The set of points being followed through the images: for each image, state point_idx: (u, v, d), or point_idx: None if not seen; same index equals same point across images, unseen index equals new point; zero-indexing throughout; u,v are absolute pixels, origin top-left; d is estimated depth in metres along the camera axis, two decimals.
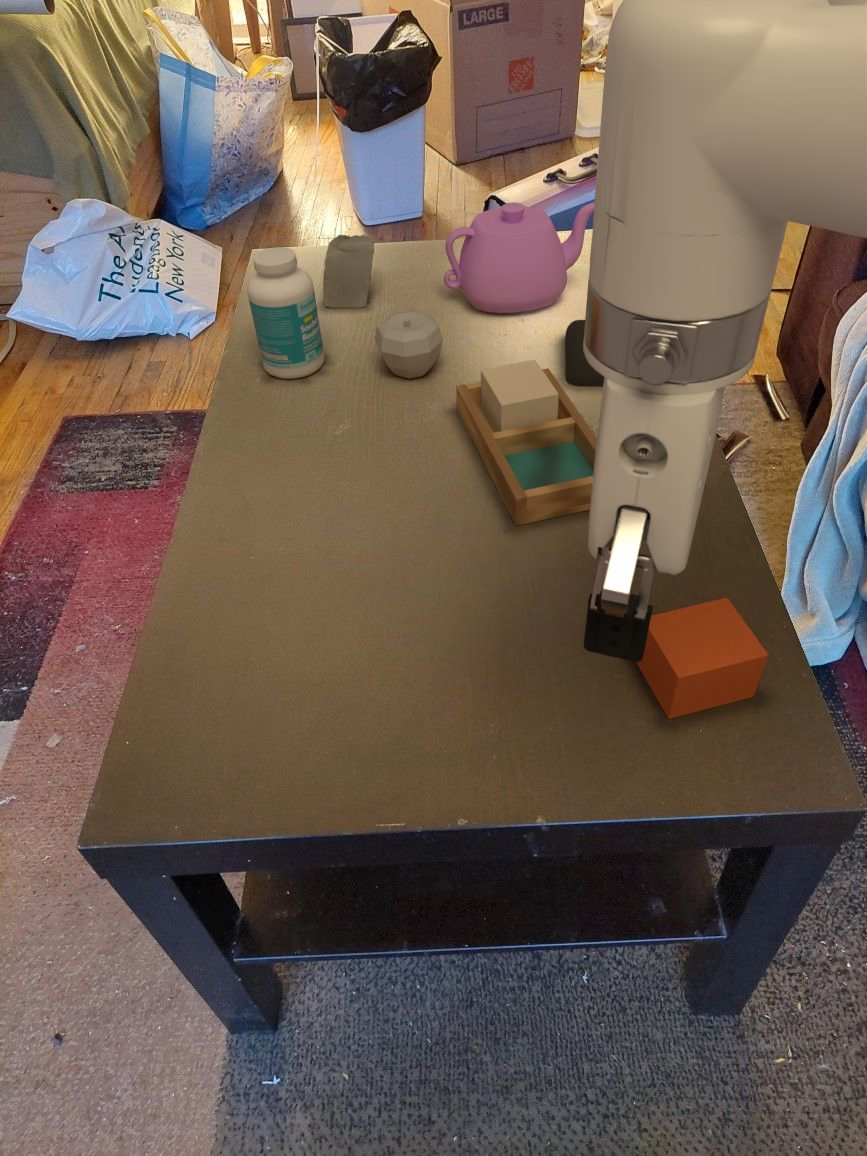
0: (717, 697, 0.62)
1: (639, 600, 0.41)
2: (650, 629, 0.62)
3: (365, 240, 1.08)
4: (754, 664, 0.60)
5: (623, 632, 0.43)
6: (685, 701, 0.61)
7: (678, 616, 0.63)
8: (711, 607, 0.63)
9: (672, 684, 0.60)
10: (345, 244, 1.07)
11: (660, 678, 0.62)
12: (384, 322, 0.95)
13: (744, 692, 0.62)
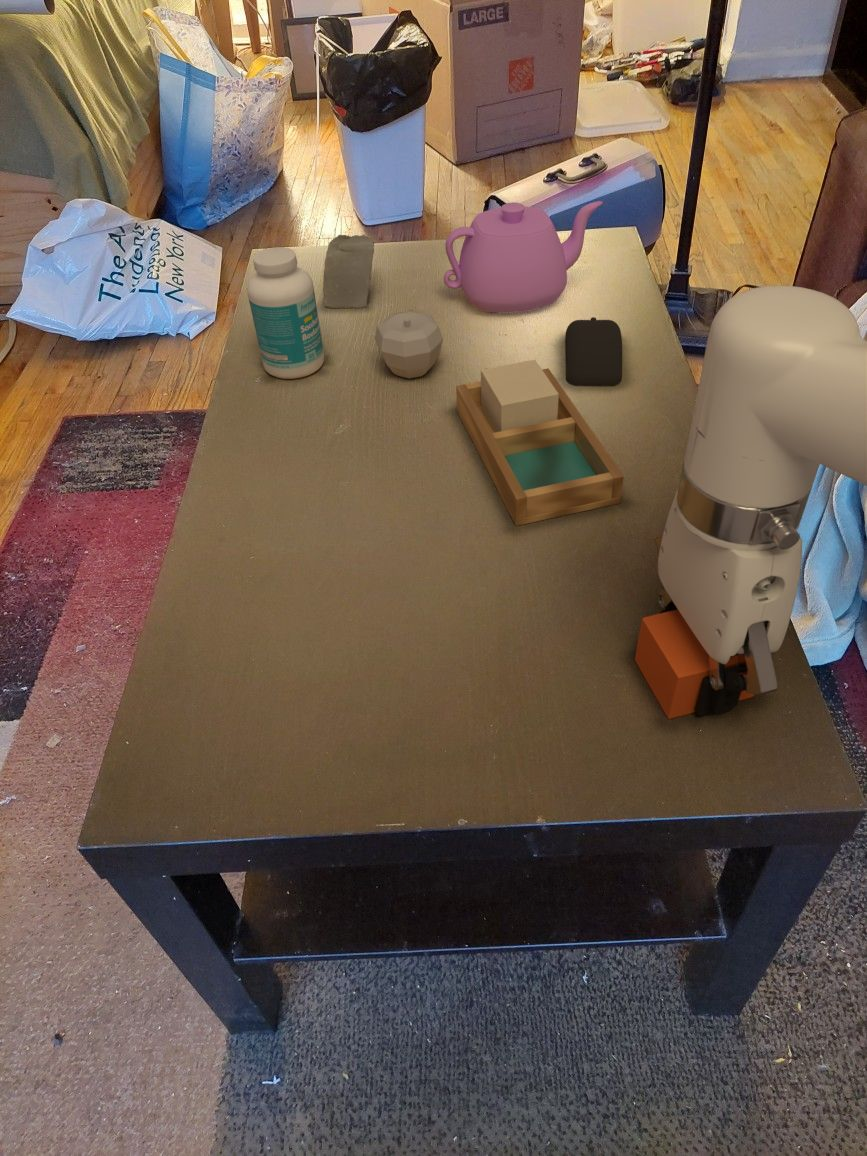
0: None
1: None
2: (650, 629, 0.62)
3: (365, 240, 1.08)
4: None
5: (734, 694, 0.60)
6: (685, 701, 0.61)
7: (678, 616, 0.63)
8: None
9: (672, 684, 0.60)
10: (345, 244, 1.07)
11: (660, 678, 0.62)
12: (384, 322, 0.95)
13: (744, 692, 0.63)
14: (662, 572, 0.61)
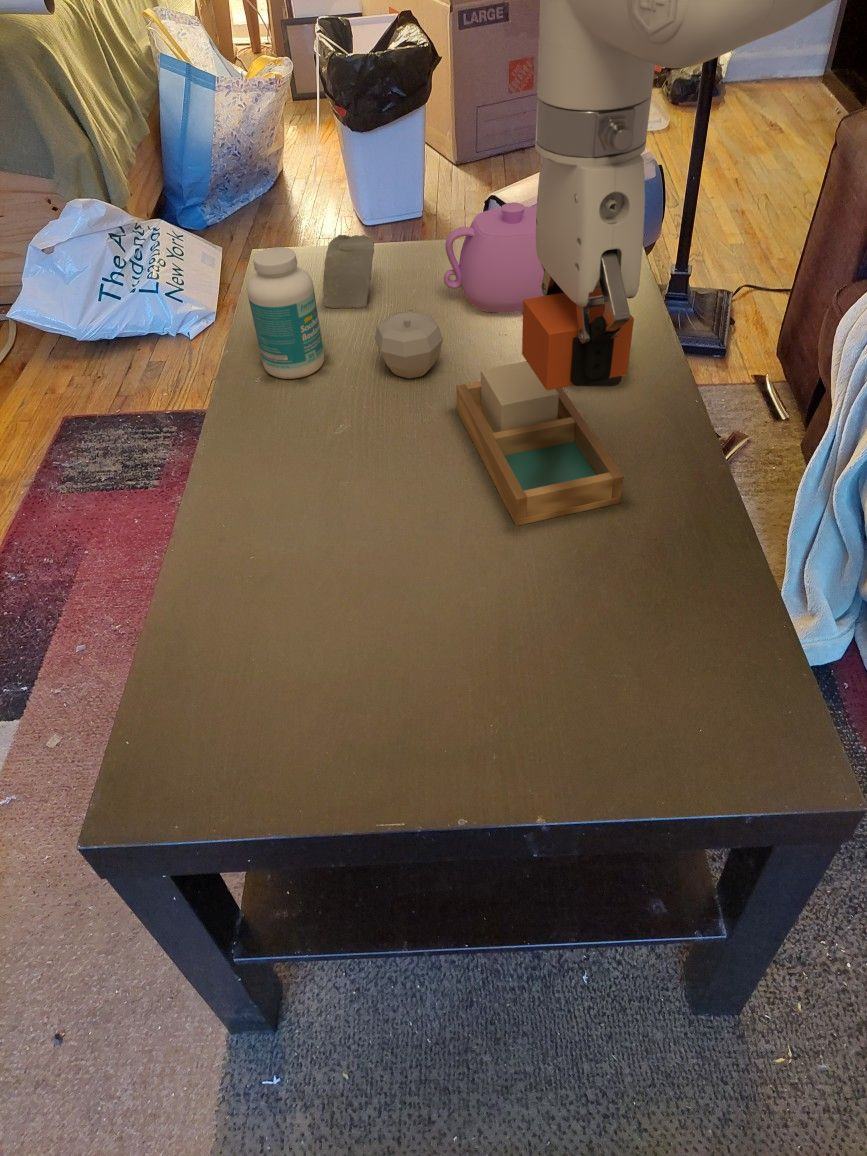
0: None
1: None
2: (529, 306, 0.67)
3: (365, 240, 1.08)
4: (621, 329, 0.65)
5: (603, 353, 0.65)
6: (560, 368, 0.66)
7: (556, 297, 0.68)
8: None
9: (545, 347, 0.65)
10: (345, 244, 1.07)
11: (538, 351, 0.67)
12: (384, 322, 0.95)
13: (617, 366, 0.68)
14: (538, 247, 0.66)
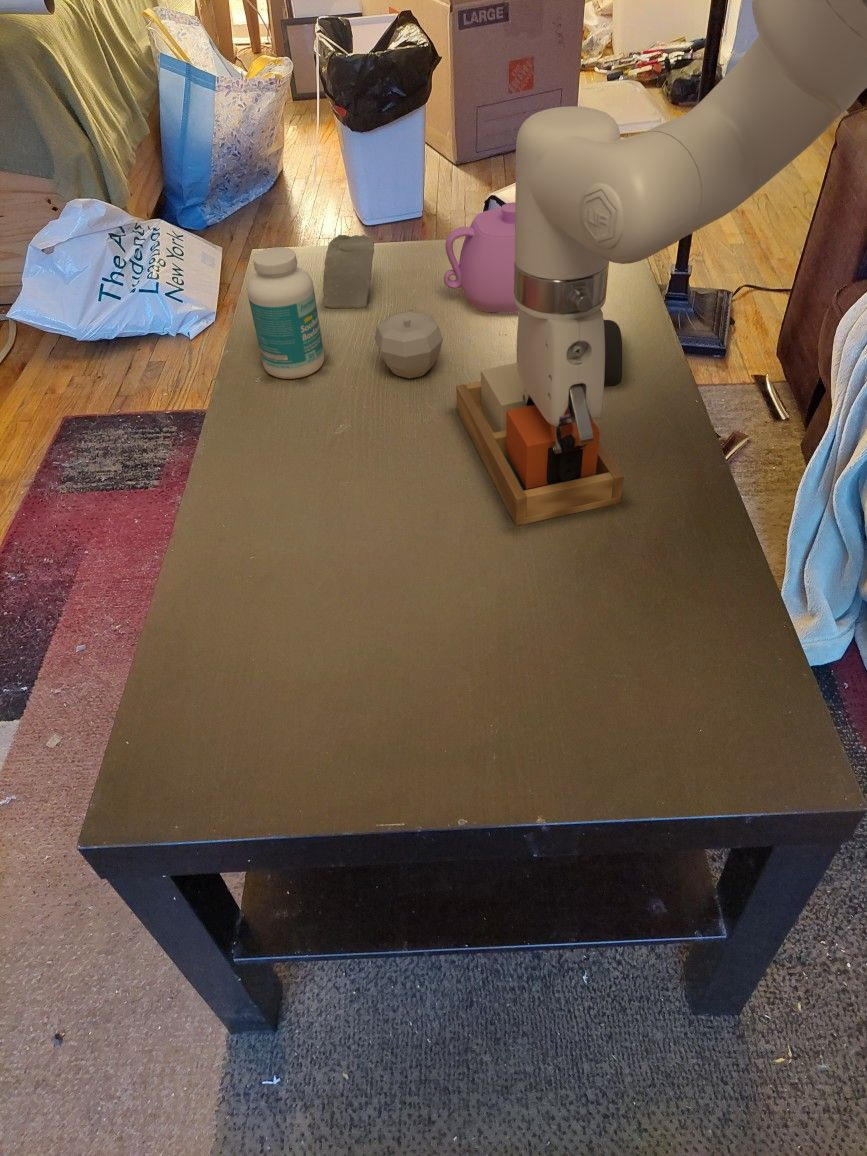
0: None
1: None
2: (511, 417, 0.78)
3: (365, 240, 1.08)
4: None
5: (573, 461, 0.76)
6: (537, 471, 0.77)
7: (534, 409, 0.79)
8: None
9: (525, 455, 0.76)
10: (345, 244, 1.07)
11: (519, 456, 0.78)
12: (384, 322, 0.95)
13: (586, 468, 0.79)
14: (519, 369, 0.77)
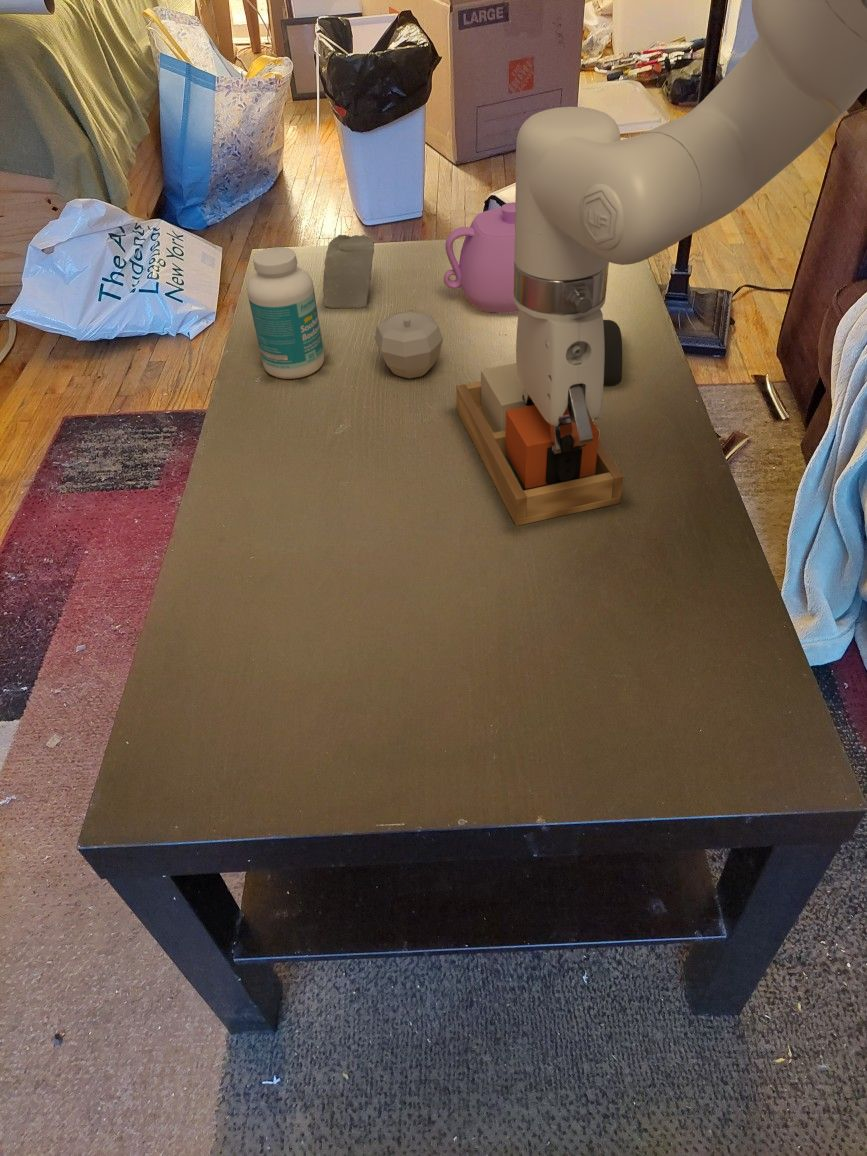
0: None
1: None
2: (510, 417, 0.78)
3: (365, 240, 1.08)
4: None
5: (572, 461, 0.76)
6: (536, 471, 0.78)
7: (534, 408, 0.79)
8: None
9: (524, 455, 0.76)
10: (345, 244, 1.07)
11: (518, 456, 0.78)
12: (384, 322, 0.95)
13: (585, 468, 0.79)
14: (518, 369, 0.77)
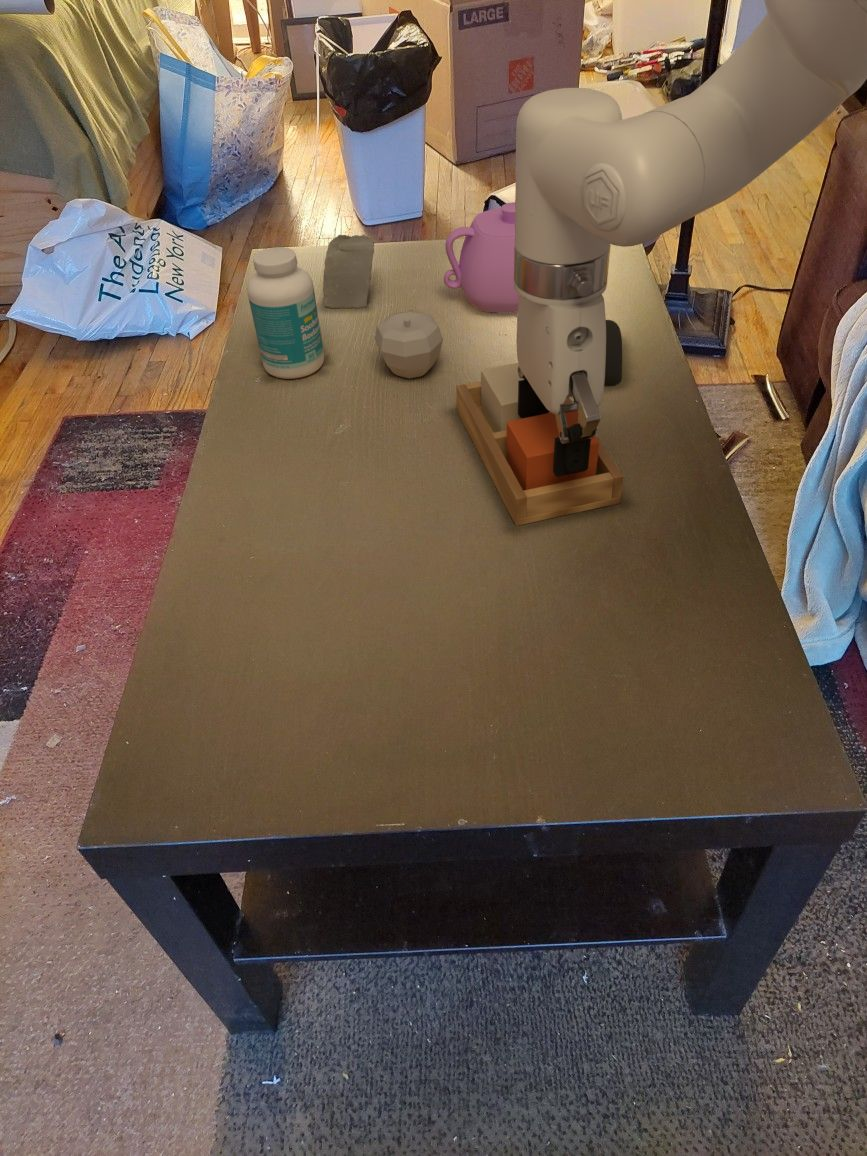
0: (563, 481, 0.79)
1: None
2: (511, 428, 0.79)
3: (365, 240, 1.08)
4: None
5: (581, 451, 0.73)
6: (537, 482, 0.78)
7: (534, 420, 0.80)
8: None
9: (524, 466, 0.77)
10: (345, 244, 1.07)
11: (519, 467, 0.79)
12: (384, 322, 0.95)
13: None
14: (519, 357, 0.76)
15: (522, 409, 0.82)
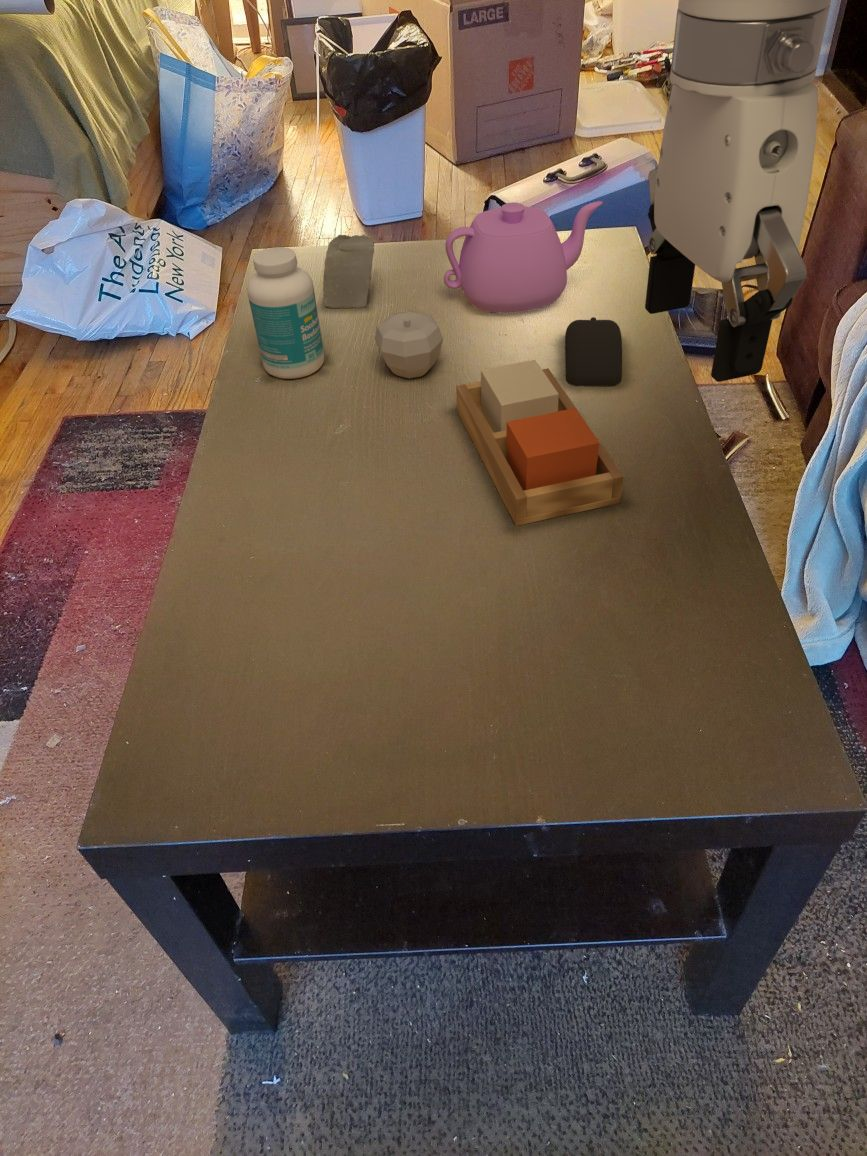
0: (563, 481, 0.79)
1: None
2: (511, 428, 0.79)
3: (365, 240, 1.08)
4: (589, 451, 0.77)
5: (758, 340, 0.50)
6: (537, 482, 0.78)
7: (534, 420, 0.80)
8: (561, 414, 0.80)
9: (524, 466, 0.77)
10: (345, 244, 1.07)
11: (519, 467, 0.79)
12: (384, 322, 0.95)
13: None
14: (659, 214, 0.54)
15: (653, 299, 0.59)
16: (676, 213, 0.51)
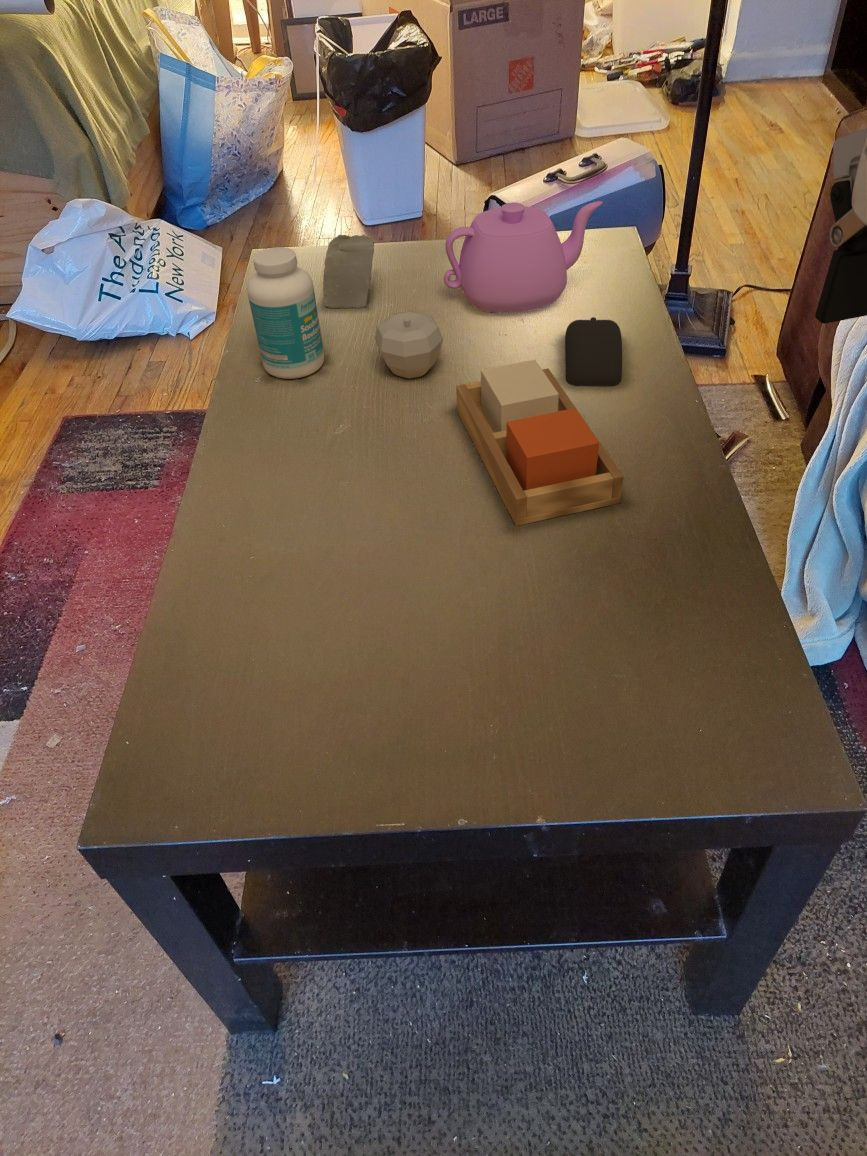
0: (563, 481, 0.79)
1: None
2: (511, 428, 0.79)
3: (365, 240, 1.08)
4: (589, 451, 0.77)
5: None
6: (537, 482, 0.78)
7: (534, 420, 0.80)
8: (561, 414, 0.80)
9: (524, 466, 0.77)
10: (345, 244, 1.07)
11: (519, 467, 0.79)
12: (384, 322, 0.95)
13: None
14: (863, 194, 0.41)
15: (830, 305, 0.46)
16: None
